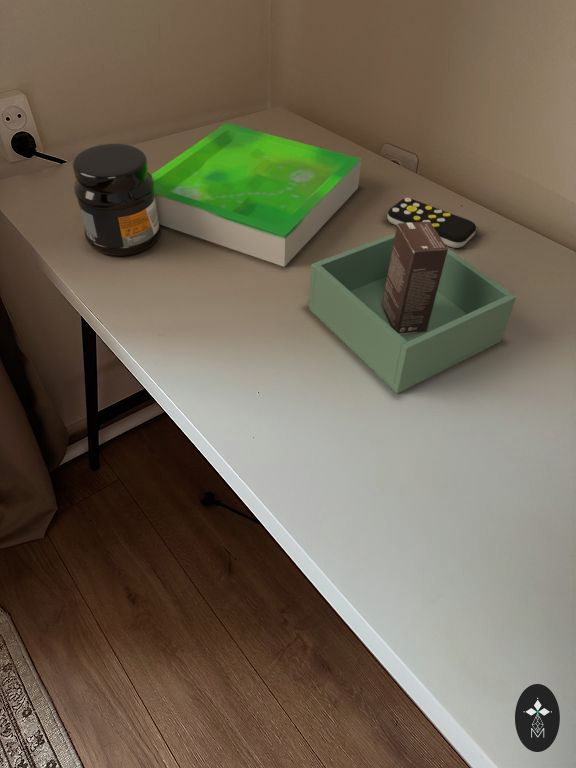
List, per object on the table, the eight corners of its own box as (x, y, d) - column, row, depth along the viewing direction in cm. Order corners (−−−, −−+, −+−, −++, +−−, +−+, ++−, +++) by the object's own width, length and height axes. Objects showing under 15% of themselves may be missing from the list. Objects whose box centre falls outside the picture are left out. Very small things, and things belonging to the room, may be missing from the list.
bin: (500, 341, 78) (516, 296, 73) (397, 394, 72) (406, 348, 67) (407, 269, 88) (415, 225, 83) (308, 308, 82) (311, 263, 77)
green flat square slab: (227, 151, 111) (226, 122, 108) (358, 188, 103) (361, 159, 100) (138, 217, 96) (133, 186, 92) (284, 266, 88) (285, 235, 84)
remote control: (459, 252, 91) (462, 240, 90) (383, 221, 97) (384, 210, 95) (477, 233, 95) (480, 221, 93) (403, 205, 100) (405, 193, 99)
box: (429, 332, 78) (450, 249, 69) (394, 336, 77) (410, 252, 68) (413, 301, 82) (431, 219, 73) (379, 305, 81) (393, 222, 72)
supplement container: (175, 241, 92) (165, 163, 83) (109, 268, 87) (92, 188, 78) (137, 210, 97) (124, 134, 88) (73, 234, 92) (53, 155, 84)
